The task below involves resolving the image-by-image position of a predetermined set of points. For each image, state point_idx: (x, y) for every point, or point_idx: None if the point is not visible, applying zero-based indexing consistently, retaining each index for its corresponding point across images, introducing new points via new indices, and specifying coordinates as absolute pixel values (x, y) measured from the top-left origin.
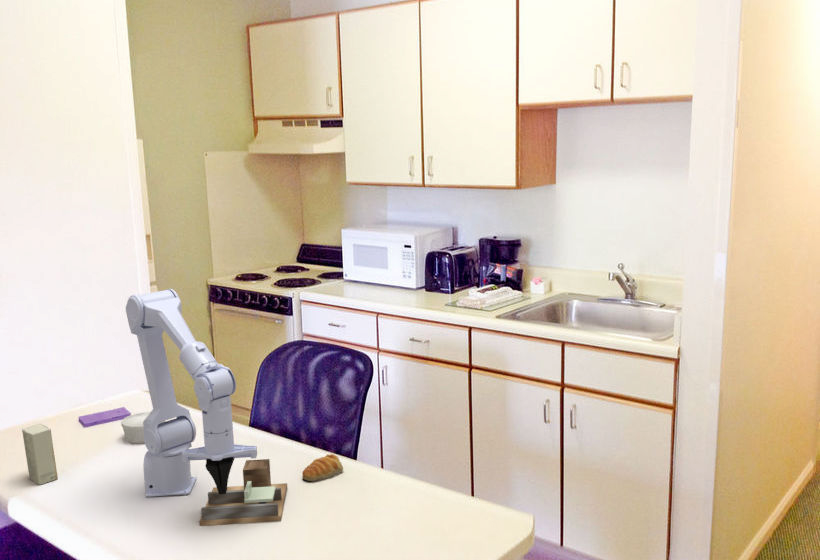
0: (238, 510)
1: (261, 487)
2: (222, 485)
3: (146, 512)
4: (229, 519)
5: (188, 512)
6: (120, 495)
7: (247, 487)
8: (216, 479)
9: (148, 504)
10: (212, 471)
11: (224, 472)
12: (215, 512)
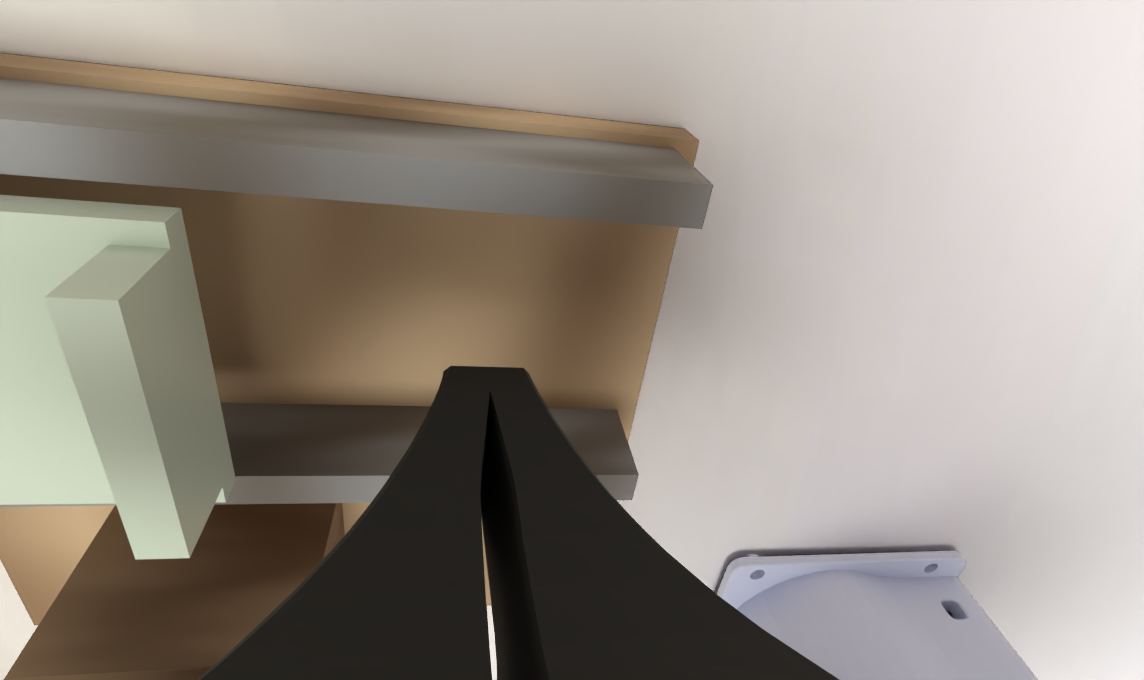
0: (270, 129)
1: (54, 493)
2: (470, 427)
3: (998, 400)
4: (400, 108)
5: (752, 362)
6: (1056, 572)
7: (118, 420)
8: (566, 499)
9: (961, 483)
10: (673, 628)
11: (386, 607)
12: (549, 153)
